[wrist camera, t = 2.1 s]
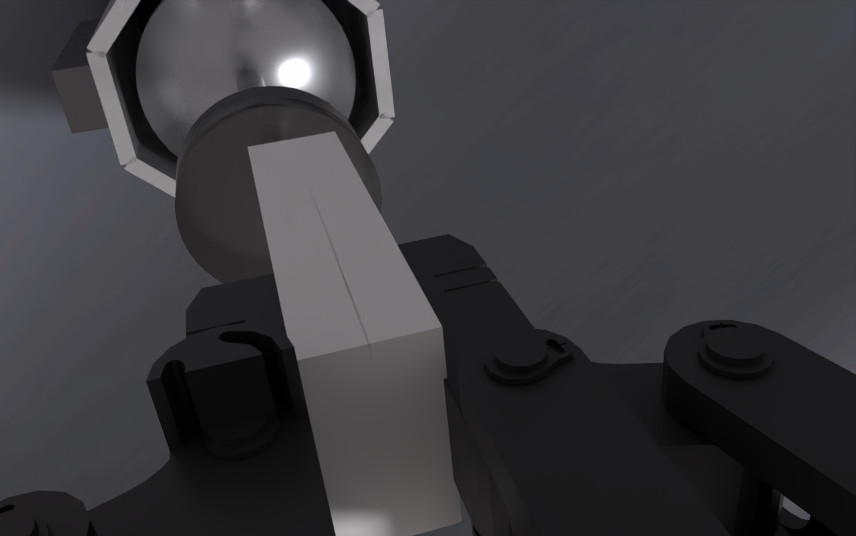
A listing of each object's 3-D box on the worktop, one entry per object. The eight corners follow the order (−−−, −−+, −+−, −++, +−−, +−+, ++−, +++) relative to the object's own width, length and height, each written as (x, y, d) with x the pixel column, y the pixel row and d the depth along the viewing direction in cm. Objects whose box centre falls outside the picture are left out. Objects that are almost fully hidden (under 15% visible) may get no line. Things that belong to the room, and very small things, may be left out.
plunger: (109, -18, 27) (57, 73, 16) (336, -49, 28) (424, 17, 18) (168, 192, 31) (158, 374, 20) (364, 156, 32) (449, 308, 22)
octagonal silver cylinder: (57, -87, 36) (-7, -52, 24) (321, -118, 38) (381, -99, 26) (126, 139, 42) (102, 257, 30) (352, 100, 44) (413, 196, 32)
